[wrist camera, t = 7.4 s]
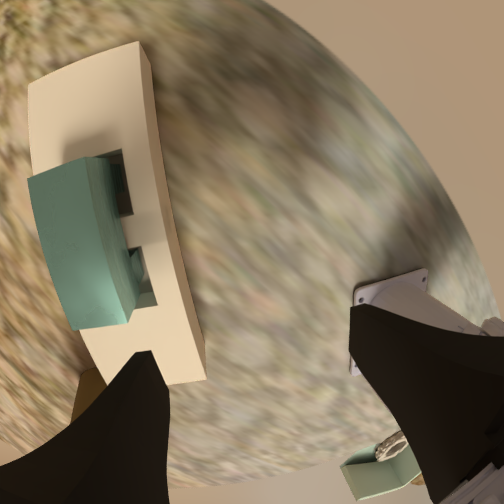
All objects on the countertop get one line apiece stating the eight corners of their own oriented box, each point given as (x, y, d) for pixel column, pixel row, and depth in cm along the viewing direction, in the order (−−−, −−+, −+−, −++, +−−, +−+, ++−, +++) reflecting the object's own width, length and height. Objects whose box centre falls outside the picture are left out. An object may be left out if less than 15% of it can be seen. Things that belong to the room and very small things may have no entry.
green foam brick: (148, 276, 16) (128, 323, 11) (105, 284, 16) (72, 330, 10) (122, 159, 14) (84, 156, 9) (77, 173, 13) (27, 178, 8)
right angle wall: (429, 416, 33) (452, 443, 26) (384, 460, 35) (401, 488, 28) (390, 417, 29) (416, 453, 22) (339, 466, 32) (356, 501, 25)
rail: (204, 344, 20) (207, 379, 16) (121, 356, 19) (109, 389, 15) (150, 65, 14) (138, 40, 10) (57, 97, 13) (28, 84, 9)
